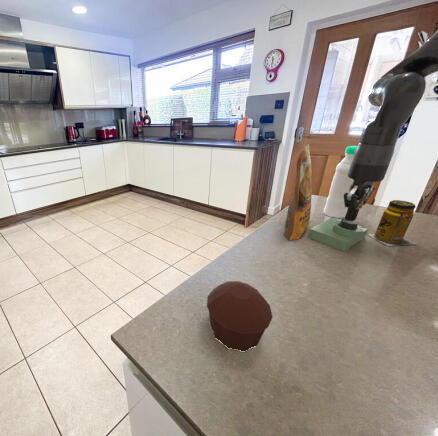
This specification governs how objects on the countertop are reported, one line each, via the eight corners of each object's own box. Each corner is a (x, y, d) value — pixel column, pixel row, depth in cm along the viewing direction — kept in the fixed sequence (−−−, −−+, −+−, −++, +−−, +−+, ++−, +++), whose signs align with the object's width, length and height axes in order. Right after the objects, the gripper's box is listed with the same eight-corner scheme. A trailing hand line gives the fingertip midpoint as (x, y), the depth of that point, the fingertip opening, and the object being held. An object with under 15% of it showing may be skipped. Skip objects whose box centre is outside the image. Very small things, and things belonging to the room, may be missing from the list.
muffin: (271, 366, 39) (282, 324, 35) (203, 352, 42) (206, 312, 38) (260, 312, 49) (268, 274, 45) (207, 304, 52) (209, 267, 48)
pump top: (343, 223, 73) (345, 217, 72) (358, 228, 70) (361, 221, 69) (336, 226, 71) (338, 220, 70) (352, 231, 68) (354, 225, 67)
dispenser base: (328, 226, 81) (332, 213, 79) (366, 238, 72) (372, 224, 70) (307, 237, 75) (311, 223, 73) (345, 252, 67) (351, 237, 65)
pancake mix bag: (273, 238, 76) (290, 150, 64) (290, 218, 88) (308, 140, 76) (296, 245, 71) (320, 151, 59) (311, 223, 83) (333, 141, 72)
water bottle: (351, 218, 85) (375, 147, 74) (331, 219, 85) (353, 148, 75) (337, 210, 91) (358, 144, 81) (318, 211, 92) (337, 145, 81)
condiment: (366, 234, 75) (379, 199, 70) (393, 233, 74) (409, 197, 69) (387, 246, 68) (404, 208, 63) (417, 245, 68) (436, 207, 63)
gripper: (377, 167, 56) (354, 230, 63) (399, 159, 62) (375, 218, 69) (341, 162, 62) (324, 221, 69) (364, 155, 68) (345, 210, 75)
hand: (349, 219), depth 69 cm, fingers closed
